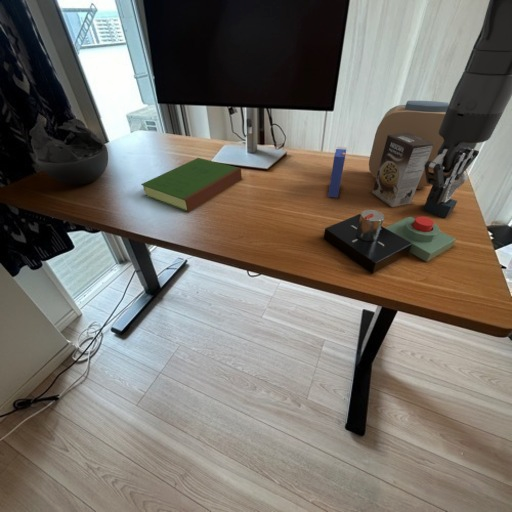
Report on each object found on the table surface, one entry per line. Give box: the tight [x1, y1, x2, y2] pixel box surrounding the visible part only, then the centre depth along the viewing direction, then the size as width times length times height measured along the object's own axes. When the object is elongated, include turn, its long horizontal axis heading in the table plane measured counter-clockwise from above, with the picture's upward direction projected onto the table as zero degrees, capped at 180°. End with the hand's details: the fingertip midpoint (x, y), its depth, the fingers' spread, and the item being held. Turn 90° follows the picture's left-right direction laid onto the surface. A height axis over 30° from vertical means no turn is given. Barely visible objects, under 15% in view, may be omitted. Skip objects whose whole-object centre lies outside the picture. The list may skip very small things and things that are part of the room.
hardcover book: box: [140, 157, 243, 213], centre depth 84 cm, size 25×19×4 cm
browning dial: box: [356, 209, 385, 241], centre depth 56 cm, size 4×4×5 cm
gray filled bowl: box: [28, 118, 109, 186], centre depth 85 cm, size 20×20×19 cm
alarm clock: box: [368, 100, 450, 190], centre depth 76 cm, size 21×10×22 cm, turn 63°
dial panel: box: [322, 213, 412, 275], centre depth 58 cm, size 14×11×3 cm
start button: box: [413, 216, 435, 232], centre depth 57 cm, size 4×4×2 cm
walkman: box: [327, 146, 348, 199], centre depth 76 cm, size 8×3×12 cm, turn 162°
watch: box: [422, 170, 469, 219], centre depth 66 cm, size 6×8×11 cm
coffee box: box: [371, 133, 434, 208], centre depth 70 cm, size 9×6×16 cm
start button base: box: [385, 215, 457, 263], centre depth 59 cm, size 11×9×4 cm
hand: (433, 202), depth 54 cm, fingers closed
